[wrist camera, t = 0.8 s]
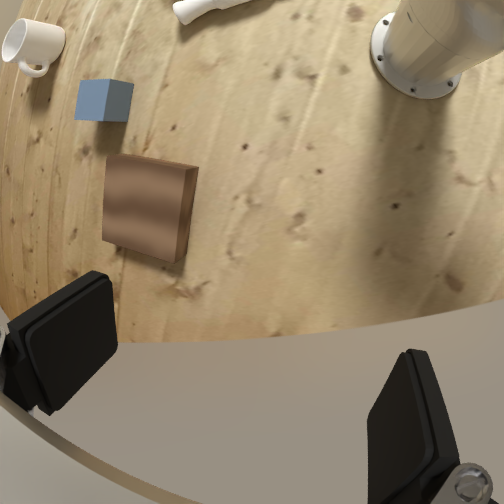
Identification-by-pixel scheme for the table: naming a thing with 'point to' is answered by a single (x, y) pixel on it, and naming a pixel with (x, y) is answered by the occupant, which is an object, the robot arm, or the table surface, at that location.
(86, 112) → the slate cube
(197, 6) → the binoculars
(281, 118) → the table surface
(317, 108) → the table surface
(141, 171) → the walnut base
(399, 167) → the table surface
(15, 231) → the table surface
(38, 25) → the mug
